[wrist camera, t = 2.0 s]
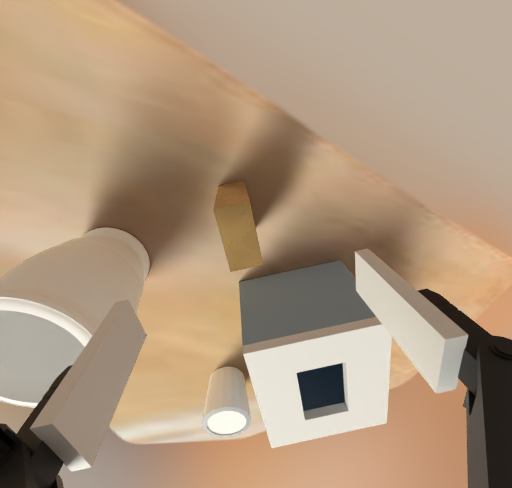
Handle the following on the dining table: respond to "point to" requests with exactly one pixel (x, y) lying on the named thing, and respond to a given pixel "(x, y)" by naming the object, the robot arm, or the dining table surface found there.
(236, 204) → the wooden rectangular block
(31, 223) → the dining table surface
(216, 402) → the white cylinder
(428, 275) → the dining table surface
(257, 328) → the box
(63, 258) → the jar
